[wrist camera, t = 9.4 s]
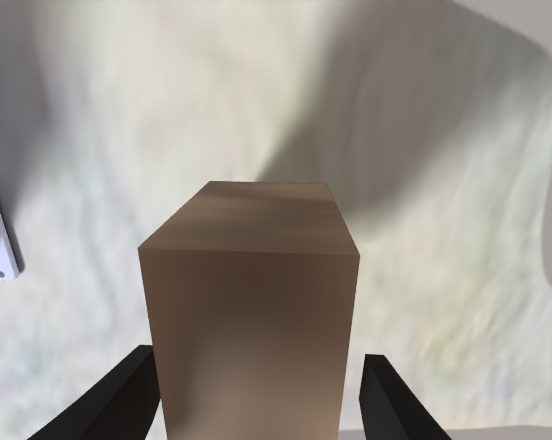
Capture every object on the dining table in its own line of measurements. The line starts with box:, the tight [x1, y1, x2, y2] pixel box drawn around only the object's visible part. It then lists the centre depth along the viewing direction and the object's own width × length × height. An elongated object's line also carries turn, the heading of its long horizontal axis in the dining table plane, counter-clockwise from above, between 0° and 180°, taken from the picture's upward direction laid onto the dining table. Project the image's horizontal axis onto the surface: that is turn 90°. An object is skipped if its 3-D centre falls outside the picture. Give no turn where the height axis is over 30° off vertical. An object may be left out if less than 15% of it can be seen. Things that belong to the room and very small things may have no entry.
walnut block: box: [138, 181, 360, 440], centre depth 11 cm, size 4×10×6 cm, turn 179°
